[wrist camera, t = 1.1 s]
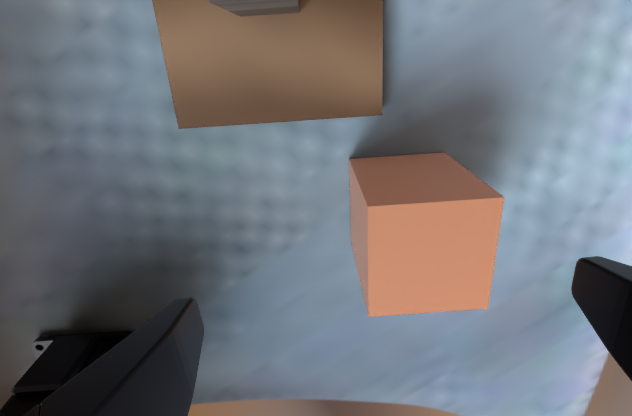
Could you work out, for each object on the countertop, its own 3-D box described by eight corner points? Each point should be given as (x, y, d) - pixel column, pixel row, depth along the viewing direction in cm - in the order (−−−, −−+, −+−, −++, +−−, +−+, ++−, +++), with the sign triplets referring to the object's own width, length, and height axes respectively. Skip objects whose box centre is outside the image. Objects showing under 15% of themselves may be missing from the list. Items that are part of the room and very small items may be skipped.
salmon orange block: (438, 237, 22) (488, 308, 16) (351, 243, 22) (368, 316, 16) (444, 152, 20) (504, 197, 14) (348, 158, 20) (367, 206, 14)
